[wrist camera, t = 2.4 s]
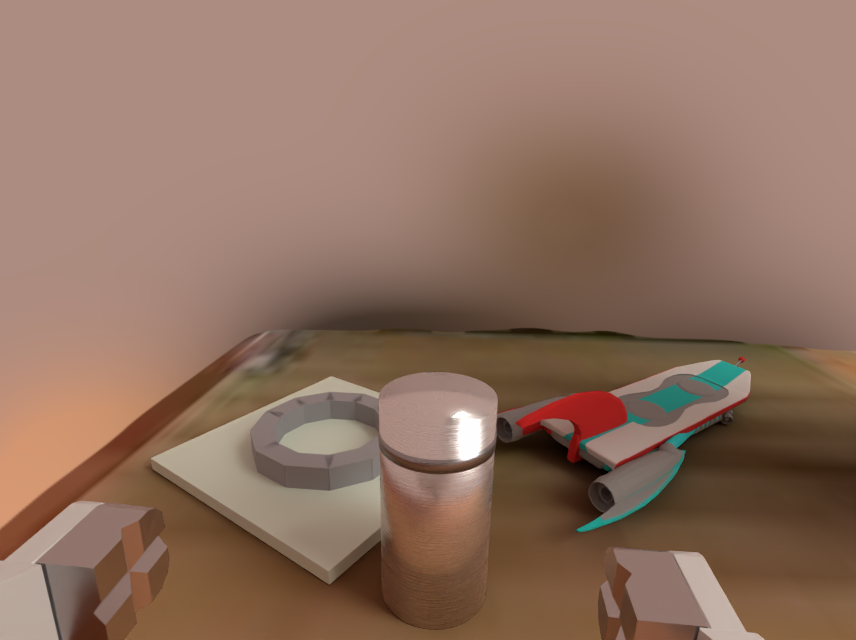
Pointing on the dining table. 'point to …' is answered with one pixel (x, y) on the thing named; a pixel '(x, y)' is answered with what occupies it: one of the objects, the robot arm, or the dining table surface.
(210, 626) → the dining table surface
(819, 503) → the dining table surface
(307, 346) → the dining table surface
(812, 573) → the dining table surface
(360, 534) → the ring plate
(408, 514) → the piston
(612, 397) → the toy spaceship
